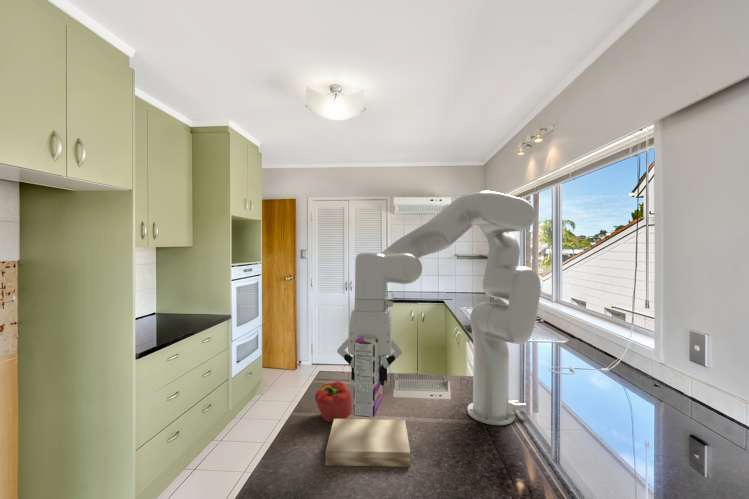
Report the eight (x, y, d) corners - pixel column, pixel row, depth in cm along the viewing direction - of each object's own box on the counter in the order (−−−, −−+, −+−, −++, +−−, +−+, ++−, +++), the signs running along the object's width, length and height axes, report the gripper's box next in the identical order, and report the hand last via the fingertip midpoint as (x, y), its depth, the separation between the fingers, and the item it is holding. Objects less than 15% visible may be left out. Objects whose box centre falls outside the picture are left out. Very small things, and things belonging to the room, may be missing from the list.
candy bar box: (363, 395, 85) (364, 329, 85) (383, 397, 84) (384, 331, 84) (351, 416, 74) (353, 340, 74) (374, 419, 73) (375, 342, 73)
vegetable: (335, 433, 84) (336, 393, 84) (304, 422, 90) (305, 384, 90) (360, 416, 94) (360, 379, 94) (331, 406, 99) (331, 372, 99)
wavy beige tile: (404, 431, 86) (404, 419, 86) (410, 466, 72) (410, 452, 72) (333, 430, 86) (334, 418, 86) (325, 465, 72) (325, 450, 72)
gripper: (405, 304, 83) (404, 378, 82) (335, 302, 83) (334, 376, 83) (408, 308, 75) (407, 390, 75) (331, 307, 75) (330, 388, 75)
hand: (369, 382), depth 79 cm, fingers closed on candy bar box, 5 cm apart
